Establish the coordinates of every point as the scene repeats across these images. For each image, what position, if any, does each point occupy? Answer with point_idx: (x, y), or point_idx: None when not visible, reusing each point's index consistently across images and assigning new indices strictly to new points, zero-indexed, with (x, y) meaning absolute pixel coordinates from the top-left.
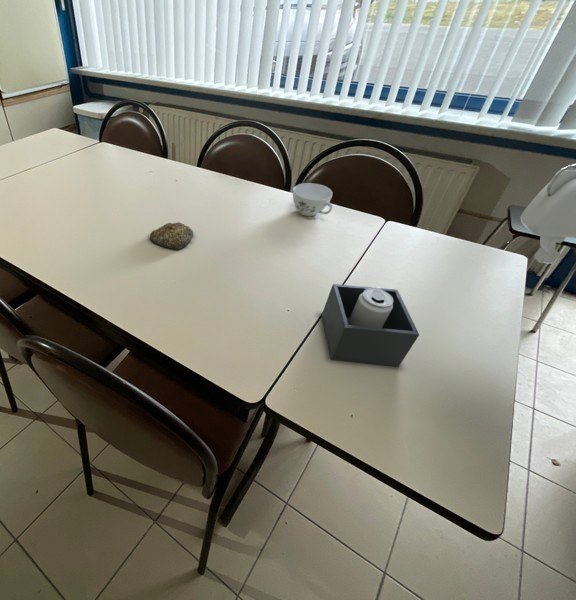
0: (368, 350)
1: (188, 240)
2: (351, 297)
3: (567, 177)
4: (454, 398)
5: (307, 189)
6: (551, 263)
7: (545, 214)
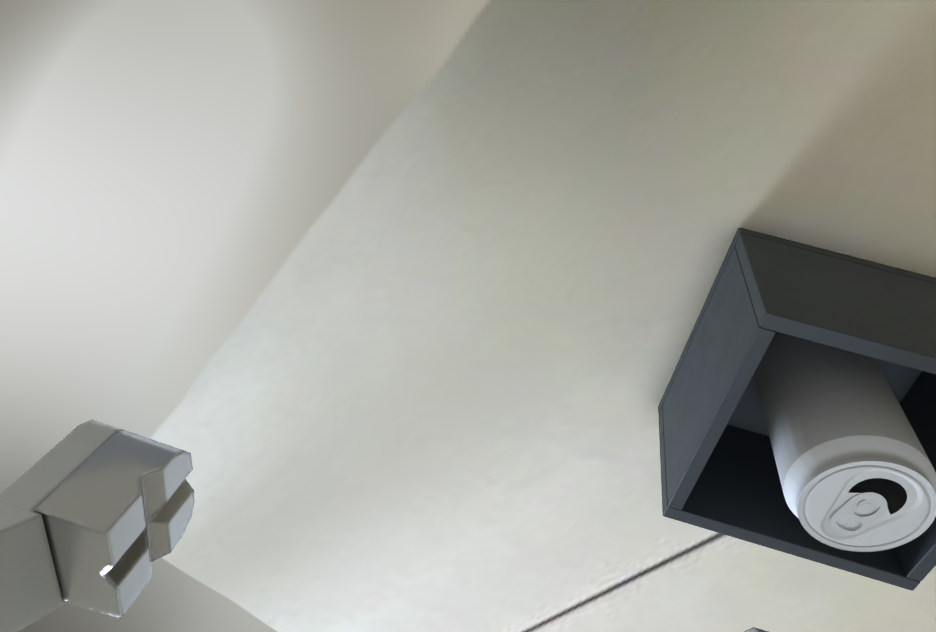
0: (894, 295)
1: None
2: None
3: None
4: (629, 77)
5: None
6: (757, 629)
7: None
